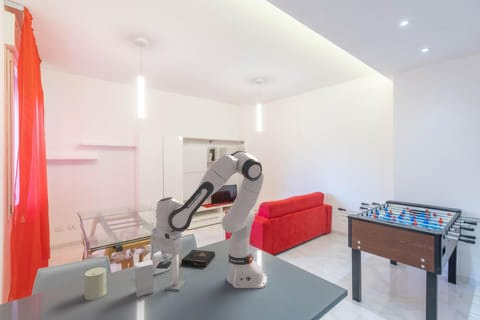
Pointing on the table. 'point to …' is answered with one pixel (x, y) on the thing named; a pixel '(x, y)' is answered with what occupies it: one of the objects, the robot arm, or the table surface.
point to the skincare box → (144, 278)
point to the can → (95, 283)
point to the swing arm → (165, 263)
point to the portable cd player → (198, 258)
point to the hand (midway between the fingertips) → (165, 259)
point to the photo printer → (156, 260)
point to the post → (175, 277)
